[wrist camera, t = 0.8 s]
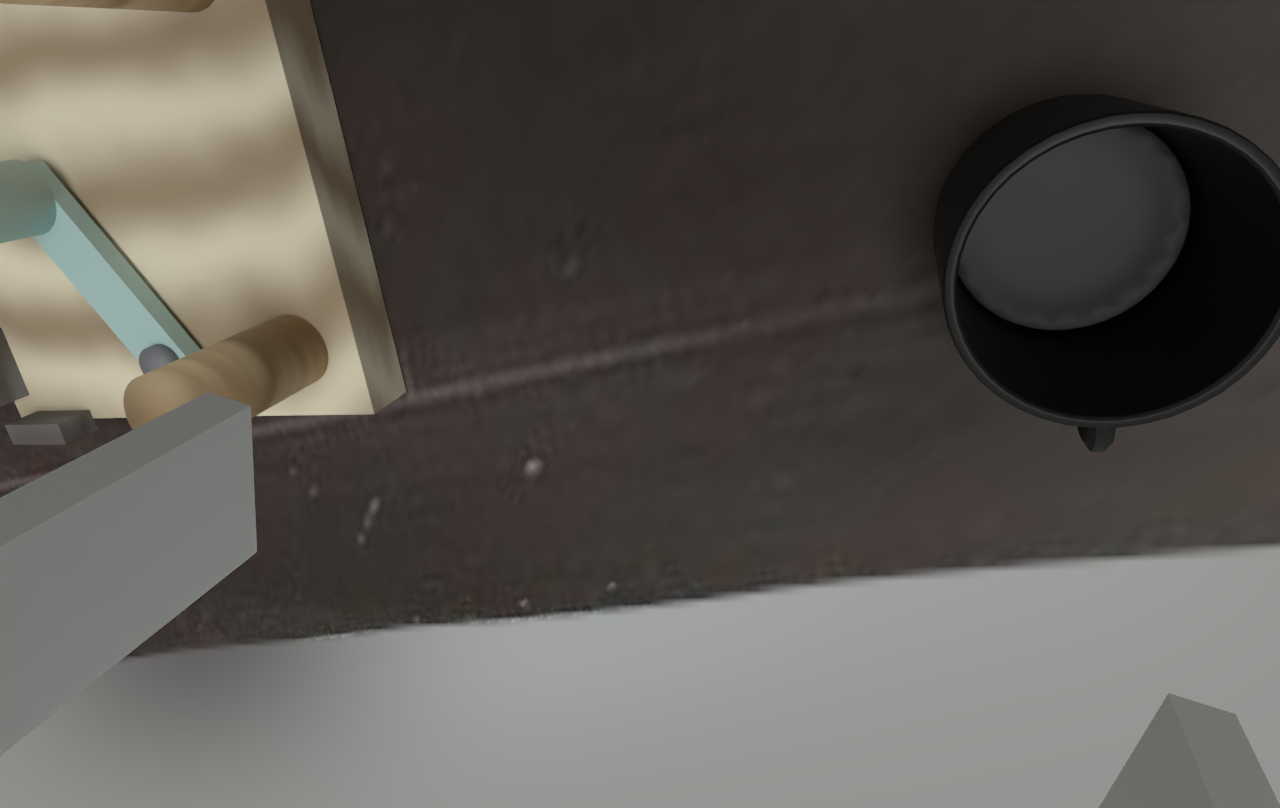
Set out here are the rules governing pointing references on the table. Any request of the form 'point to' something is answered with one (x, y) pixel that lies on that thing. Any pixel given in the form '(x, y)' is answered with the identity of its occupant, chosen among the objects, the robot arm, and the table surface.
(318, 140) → the stool
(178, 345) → the hinged leg
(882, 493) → the table surface
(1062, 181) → the mug
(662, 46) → the table surface
